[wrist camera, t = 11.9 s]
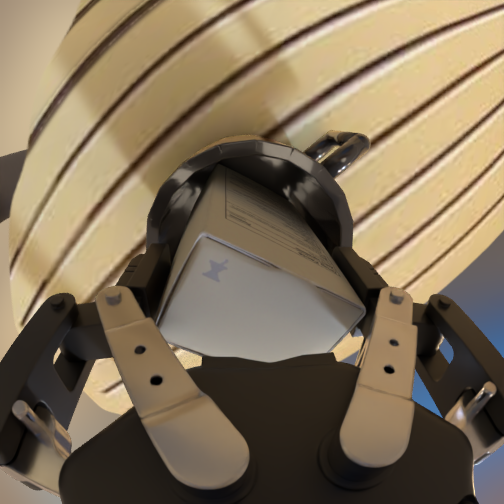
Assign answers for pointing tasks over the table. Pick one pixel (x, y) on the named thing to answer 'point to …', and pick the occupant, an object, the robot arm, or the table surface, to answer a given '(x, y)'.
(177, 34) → the table surface
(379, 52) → the table surface
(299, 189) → the mug
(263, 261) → the cosmetic box
